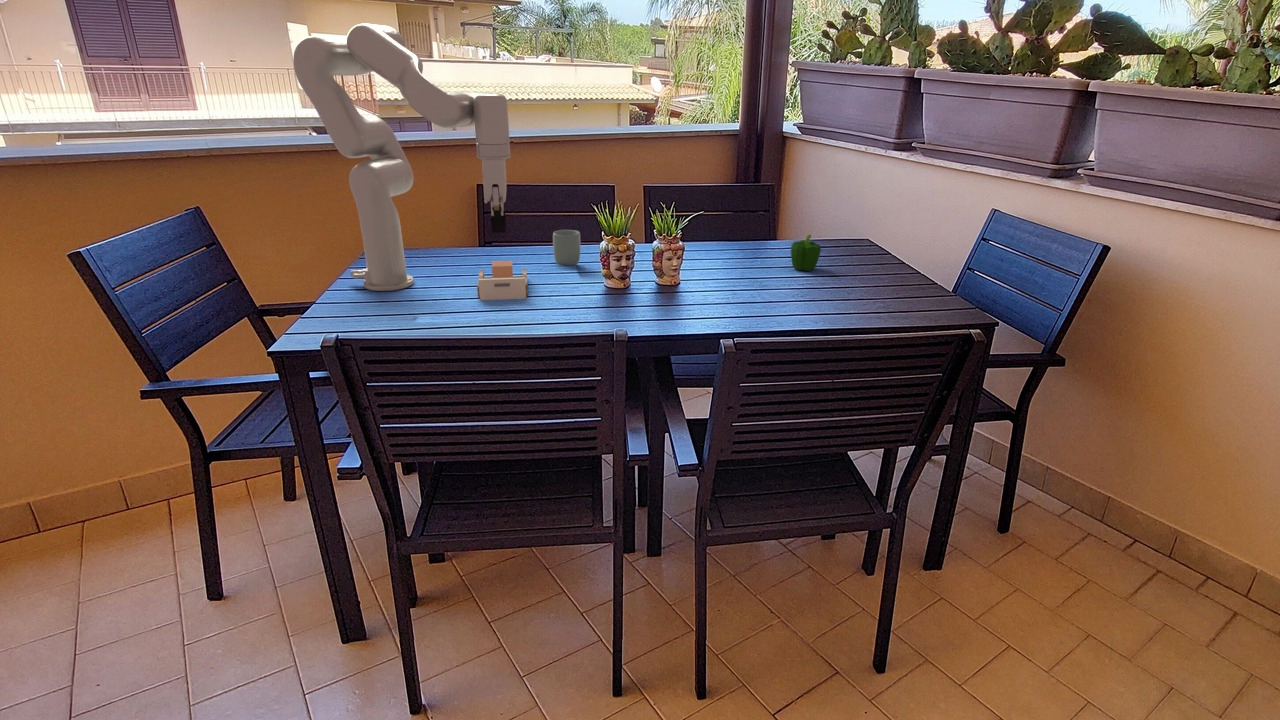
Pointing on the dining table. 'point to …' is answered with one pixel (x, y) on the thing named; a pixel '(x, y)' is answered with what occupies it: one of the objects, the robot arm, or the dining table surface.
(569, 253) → the cup
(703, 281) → the dining table surface
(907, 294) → the dining table surface
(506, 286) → the panel
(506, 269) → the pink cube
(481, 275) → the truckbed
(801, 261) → the bell pepper
